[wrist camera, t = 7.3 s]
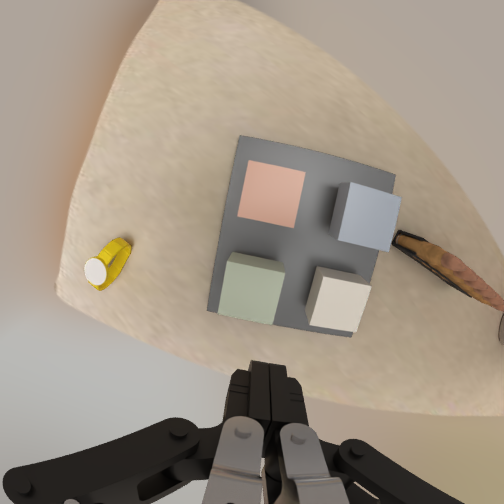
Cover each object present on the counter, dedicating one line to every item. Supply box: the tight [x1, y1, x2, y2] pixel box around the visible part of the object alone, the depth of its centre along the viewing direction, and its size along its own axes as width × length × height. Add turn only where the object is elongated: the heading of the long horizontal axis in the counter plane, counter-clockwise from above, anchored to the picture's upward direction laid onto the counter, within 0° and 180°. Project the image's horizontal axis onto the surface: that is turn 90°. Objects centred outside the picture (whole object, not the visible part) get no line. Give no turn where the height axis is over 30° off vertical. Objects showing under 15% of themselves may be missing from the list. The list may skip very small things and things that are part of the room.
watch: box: [84, 237, 131, 291], centre depth 27 cm, size 6×3×6 cm, turn 145°
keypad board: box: [207, 135, 396, 337], centre depth 27 cm, size 16×18×4 cm
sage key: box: [218, 252, 285, 325], centre depth 24 cm, size 5×5×4 cm
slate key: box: [328, 182, 402, 252], centre depth 23 cm, size 5×5×4 cm
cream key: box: [305, 266, 372, 332], centre depth 26 cm, size 5×5×4 cm
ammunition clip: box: [392, 230, 504, 312], centre depth 22 cm, size 11×2×12 cm, turn 62°
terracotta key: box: [237, 160, 306, 228], centre depth 24 cm, size 5×5×4 cm
